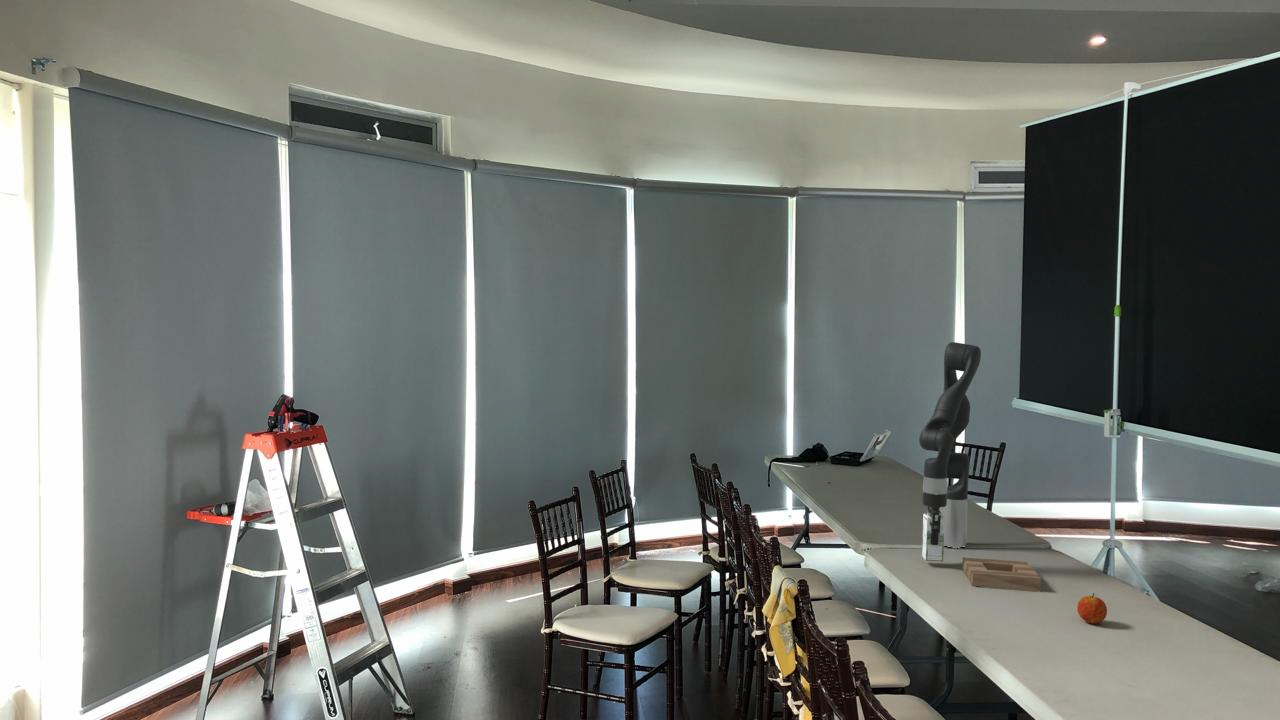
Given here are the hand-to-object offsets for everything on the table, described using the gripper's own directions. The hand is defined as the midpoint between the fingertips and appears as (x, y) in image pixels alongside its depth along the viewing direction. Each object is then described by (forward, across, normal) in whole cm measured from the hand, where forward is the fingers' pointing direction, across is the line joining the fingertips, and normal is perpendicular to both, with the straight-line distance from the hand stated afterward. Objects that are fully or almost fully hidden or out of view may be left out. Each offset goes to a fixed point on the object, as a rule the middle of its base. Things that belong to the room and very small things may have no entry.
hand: (933, 541), depth 284 cm
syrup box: (+6, 0, 0) cm, 6 cm away
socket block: (+7, +12, +18) cm, 23 cm away
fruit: (+7, +48, +35) cm, 60 cm away
